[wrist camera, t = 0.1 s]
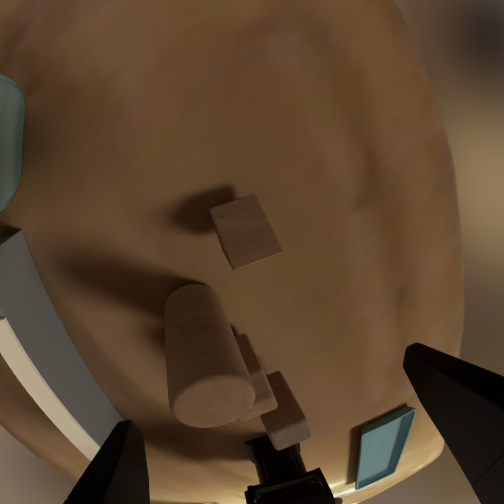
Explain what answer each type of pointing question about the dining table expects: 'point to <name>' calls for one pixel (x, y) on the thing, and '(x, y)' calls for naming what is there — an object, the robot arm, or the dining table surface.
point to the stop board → (48, 353)
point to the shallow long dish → (383, 446)
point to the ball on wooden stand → (338, 500)
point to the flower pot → (10, 138)
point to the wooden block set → (227, 343)
